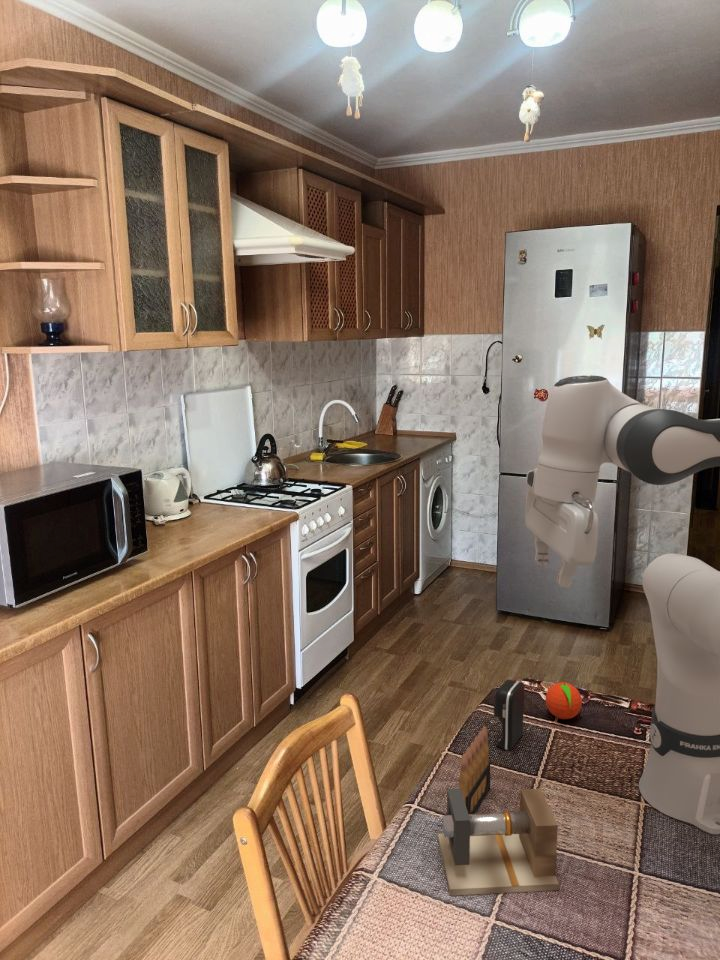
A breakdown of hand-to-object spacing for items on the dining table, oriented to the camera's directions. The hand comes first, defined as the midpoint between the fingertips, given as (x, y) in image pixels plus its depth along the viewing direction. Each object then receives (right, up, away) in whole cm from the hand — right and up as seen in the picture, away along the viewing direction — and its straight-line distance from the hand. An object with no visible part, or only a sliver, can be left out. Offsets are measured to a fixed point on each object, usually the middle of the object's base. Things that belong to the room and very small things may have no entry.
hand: (551, 574), depth 109 cm
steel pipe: (-10, -36, -6) cm, 38 cm away
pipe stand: (-10, -41, -5) cm, 42 cm away
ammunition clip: (-11, -39, +8) cm, 41 cm away
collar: (-15, -38, -6) cm, 42 cm away
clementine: (+11, -33, +33) cm, 48 cm away
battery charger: (-2, -35, +26) cm, 43 cm away
